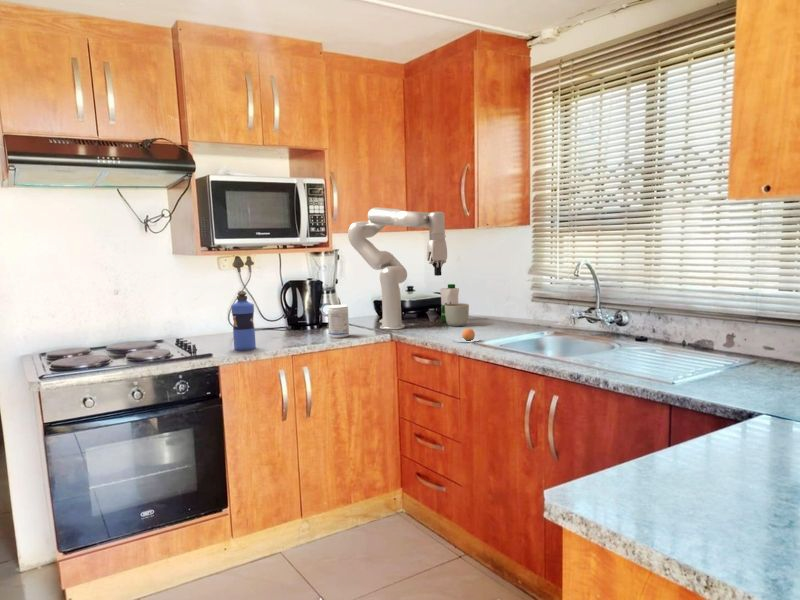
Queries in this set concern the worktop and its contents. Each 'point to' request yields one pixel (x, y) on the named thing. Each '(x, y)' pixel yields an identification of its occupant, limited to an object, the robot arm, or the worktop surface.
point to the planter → (456, 314)
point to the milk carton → (448, 298)
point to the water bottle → (243, 323)
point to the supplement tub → (338, 321)
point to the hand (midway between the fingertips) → (437, 275)
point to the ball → (468, 334)
